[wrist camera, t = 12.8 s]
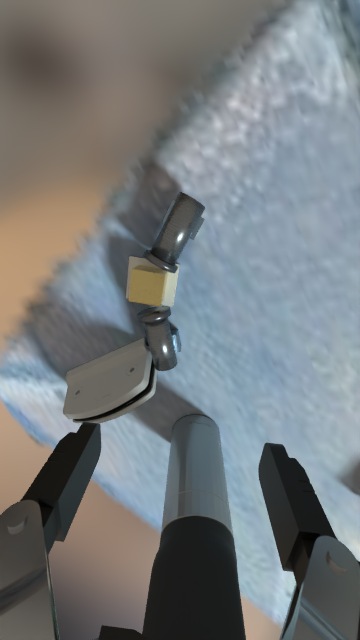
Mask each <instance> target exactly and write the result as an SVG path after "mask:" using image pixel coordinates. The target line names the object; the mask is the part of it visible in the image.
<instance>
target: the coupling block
mask: <svg viewBox="0 0 360 640" xmlns="http://www.w3.org/2000/svg"><path fill="white" fill-rule="evenodd" d="M167 277H168V271H165V270H163V269H160V268H154V267H149V266H143V265H138V266H136V267H134V268H132V272H131V282H130V292H129V301H131V302H137V303H142V304H148V305H154V306H159V307H161V305H162V302H163V300H164V297H165V290H166V284H167Z"/></svg>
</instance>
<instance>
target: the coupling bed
mask: <svg viewBox="0 0 360 640" xmlns="http://www.w3.org/2000/svg"><path fill="white" fill-rule="evenodd" d="M138 265H143V266H149V267H154V268H159V267H157V266H156V265H154V264H152V263H151V262H149V261H148V260H147V259H145V258H139V257H133V256H129V266H128V278H127V290H126V299H129V292H130V282H131V272H132V268H134V267H136V266H138ZM176 265H177V266H178V269H177V271H176V273H170V272H168V277H167V284H166V290H165V297H164V300H163V302H162V305H167V306H172V307H173V304H174V298H175V292H176V285H177V279H178V273H179V266H180V264H176ZM160 269H161V268H160Z"/></svg>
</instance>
